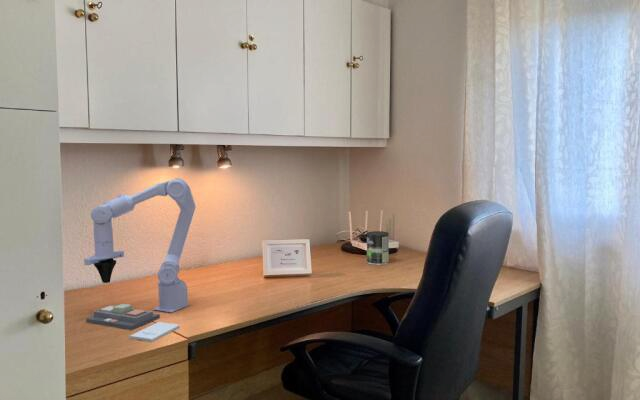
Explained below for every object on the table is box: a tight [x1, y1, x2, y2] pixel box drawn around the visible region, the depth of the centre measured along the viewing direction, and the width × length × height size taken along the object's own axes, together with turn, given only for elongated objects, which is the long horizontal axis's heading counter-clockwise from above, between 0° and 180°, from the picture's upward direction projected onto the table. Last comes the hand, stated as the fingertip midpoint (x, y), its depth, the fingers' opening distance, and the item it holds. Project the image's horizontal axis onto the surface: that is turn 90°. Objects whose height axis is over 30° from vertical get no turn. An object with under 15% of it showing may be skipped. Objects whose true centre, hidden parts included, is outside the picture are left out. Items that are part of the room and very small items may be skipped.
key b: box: [113, 303, 133, 315], centre depth 164 cm, size 4×4×2 cm
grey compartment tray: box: [85, 308, 161, 331], centre depth 164 cm, size 12×19×3 cm, turn 65°
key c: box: [126, 309, 146, 317], centre depth 162 cm, size 4×4×2 cm
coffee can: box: [366, 230, 390, 266], centre depth 241 cm, size 10×10×14 cm
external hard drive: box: [128, 321, 181, 343], centre depth 152 cm, size 2×8×12 cm
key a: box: [100, 305, 115, 313], centre depth 166 cm, size 4×4×2 cm
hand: (106, 282), depth 171 cm, fingers closed
